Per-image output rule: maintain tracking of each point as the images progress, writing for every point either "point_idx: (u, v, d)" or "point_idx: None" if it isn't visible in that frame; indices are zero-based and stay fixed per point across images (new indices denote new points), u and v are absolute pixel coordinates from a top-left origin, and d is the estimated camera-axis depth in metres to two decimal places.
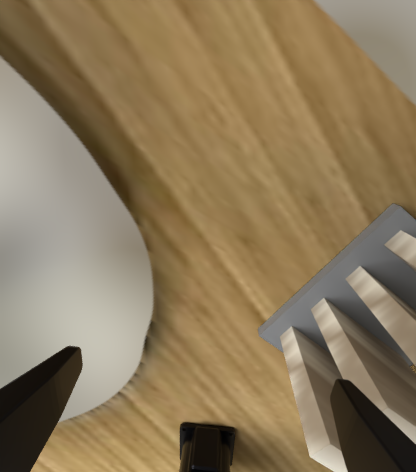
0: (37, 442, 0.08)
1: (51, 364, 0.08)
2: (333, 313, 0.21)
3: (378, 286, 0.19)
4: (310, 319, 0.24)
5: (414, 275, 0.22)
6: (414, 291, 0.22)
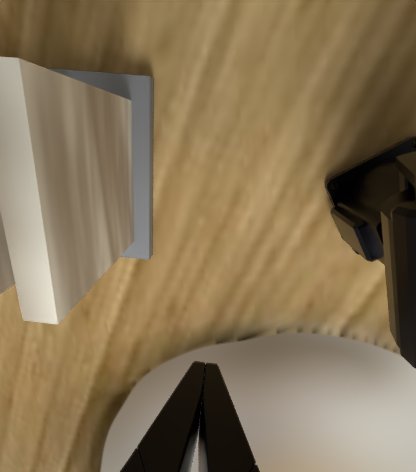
0: (190, 463, 0.07)
1: (192, 382, 0.08)
2: None
3: None
4: None
5: None
6: None
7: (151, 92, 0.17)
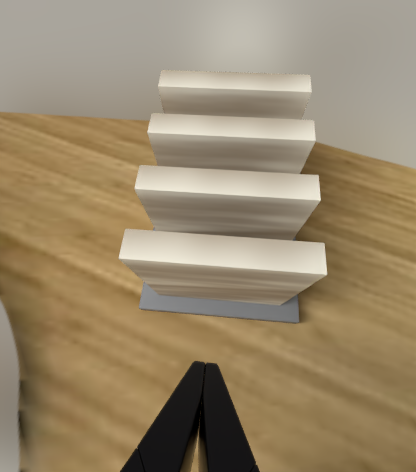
0: (190, 463, 0.07)
1: (192, 382, 0.08)
2: None
3: None
4: None
5: None
6: None
7: (286, 321, 0.21)
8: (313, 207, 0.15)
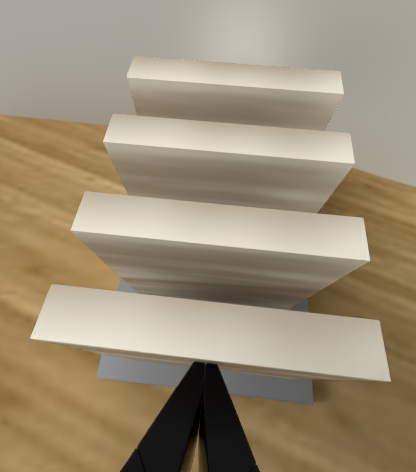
0: (190, 463, 0.07)
1: (192, 382, 0.08)
2: None
3: None
4: None
5: None
6: None
7: (295, 401, 0.16)
8: (354, 268, 0.09)
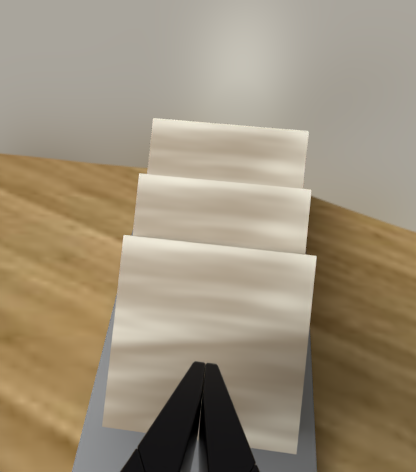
0: (190, 463, 0.07)
1: (192, 382, 0.08)
2: None
3: None
4: None
5: None
6: None
7: None
8: (308, 202, 0.15)
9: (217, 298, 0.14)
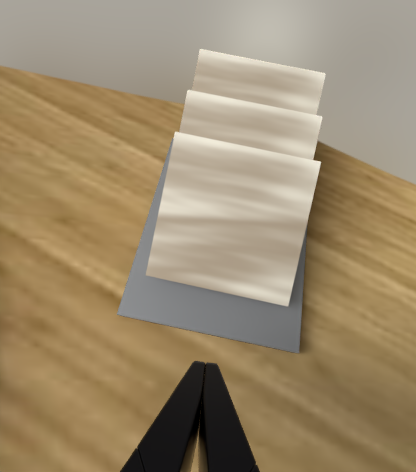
0: (190, 463, 0.07)
1: (192, 382, 0.08)
2: None
3: None
4: None
5: None
6: None
7: (284, 350, 0.19)
8: (318, 126, 0.19)
9: (242, 187, 0.18)
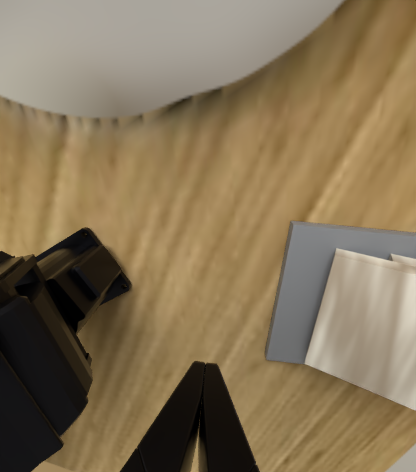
0: (190, 463, 0.07)
1: (192, 382, 0.08)
2: None
3: None
4: None
5: None
6: None
7: (267, 348, 0.24)
8: None
9: None
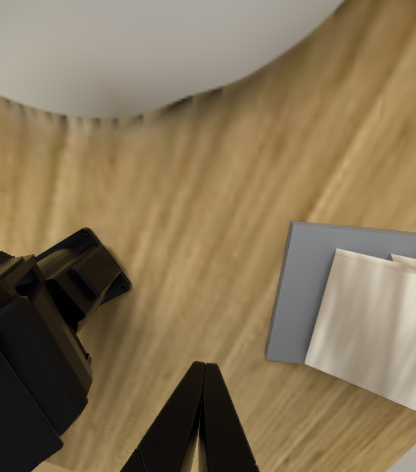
0: (190, 463, 0.07)
1: (192, 382, 0.08)
2: None
3: None
4: None
5: None
6: None
7: (267, 349, 0.24)
8: None
9: None
